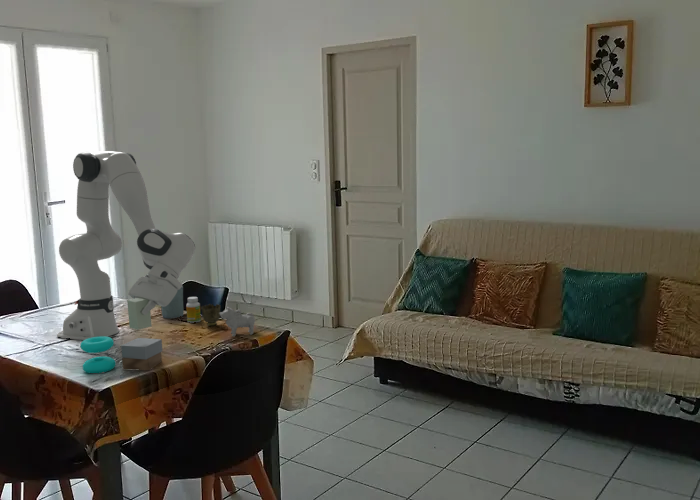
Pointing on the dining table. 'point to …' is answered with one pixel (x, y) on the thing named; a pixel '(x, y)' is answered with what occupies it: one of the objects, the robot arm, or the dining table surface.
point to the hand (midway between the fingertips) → (137, 312)
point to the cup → (211, 314)
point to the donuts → (98, 346)
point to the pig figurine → (238, 320)
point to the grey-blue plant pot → (174, 306)
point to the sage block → (138, 314)
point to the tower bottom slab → (141, 362)
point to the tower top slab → (141, 348)
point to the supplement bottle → (193, 310)
